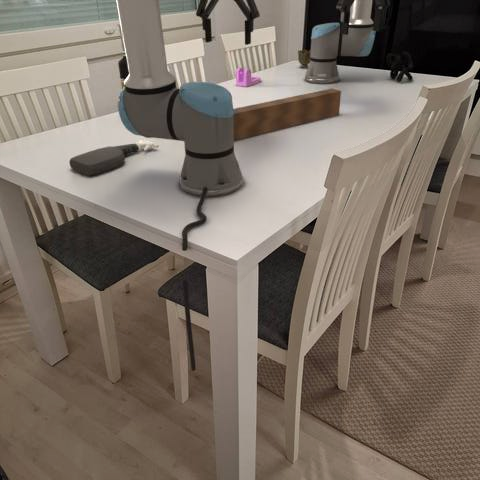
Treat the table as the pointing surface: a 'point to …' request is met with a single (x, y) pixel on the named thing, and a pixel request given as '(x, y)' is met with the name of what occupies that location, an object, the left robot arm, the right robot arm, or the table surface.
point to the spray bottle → (106, 157)
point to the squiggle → (399, 66)
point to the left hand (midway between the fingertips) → (227, 43)
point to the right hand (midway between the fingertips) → (360, 32)
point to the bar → (285, 113)
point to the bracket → (245, 78)
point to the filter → (123, 62)
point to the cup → (304, 58)
